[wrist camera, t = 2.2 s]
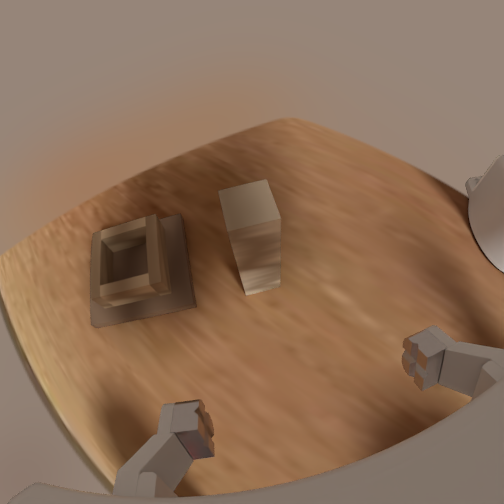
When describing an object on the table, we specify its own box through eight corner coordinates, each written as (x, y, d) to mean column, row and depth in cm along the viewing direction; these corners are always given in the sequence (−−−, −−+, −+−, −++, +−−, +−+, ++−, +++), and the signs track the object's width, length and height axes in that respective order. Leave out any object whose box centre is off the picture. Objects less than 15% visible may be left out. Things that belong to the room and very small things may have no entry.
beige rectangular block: (270, 256, 31) (266, 179, 20) (280, 286, 29) (280, 218, 19) (238, 264, 31) (217, 190, 20) (246, 295, 29) (227, 231, 18)
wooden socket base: (183, 219, 34) (172, 197, 30) (196, 306, 29) (184, 292, 25) (96, 244, 34) (79, 227, 30) (96, 328, 28) (75, 317, 25)
